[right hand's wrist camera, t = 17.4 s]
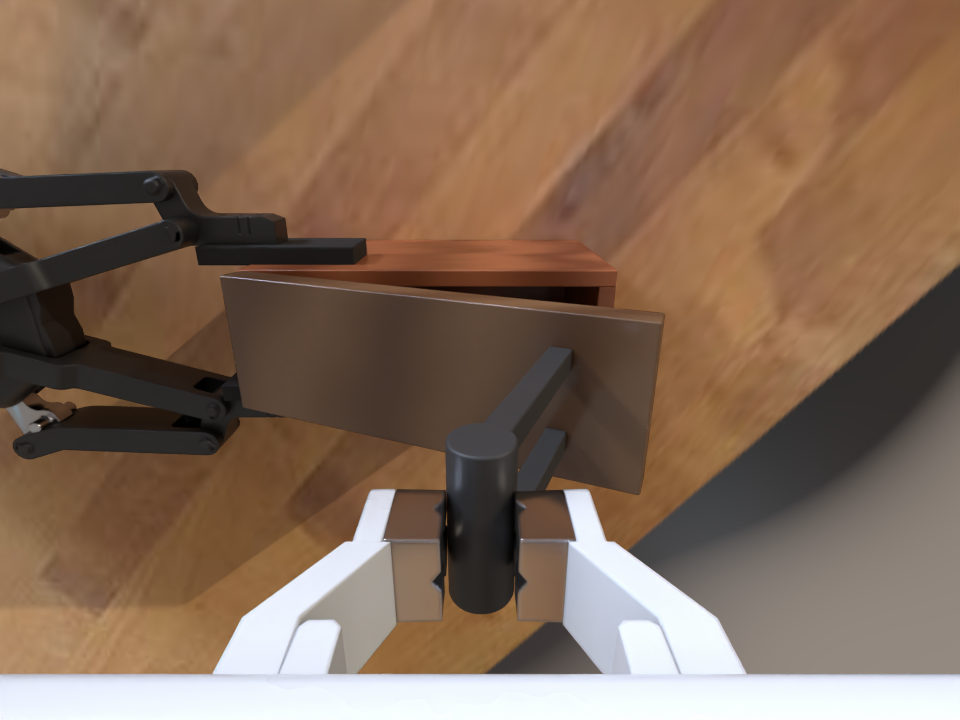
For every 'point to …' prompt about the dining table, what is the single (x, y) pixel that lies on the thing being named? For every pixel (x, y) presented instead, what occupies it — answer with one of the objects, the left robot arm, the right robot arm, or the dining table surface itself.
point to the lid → (457, 392)
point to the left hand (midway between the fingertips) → (364, 319)
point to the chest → (477, 269)
